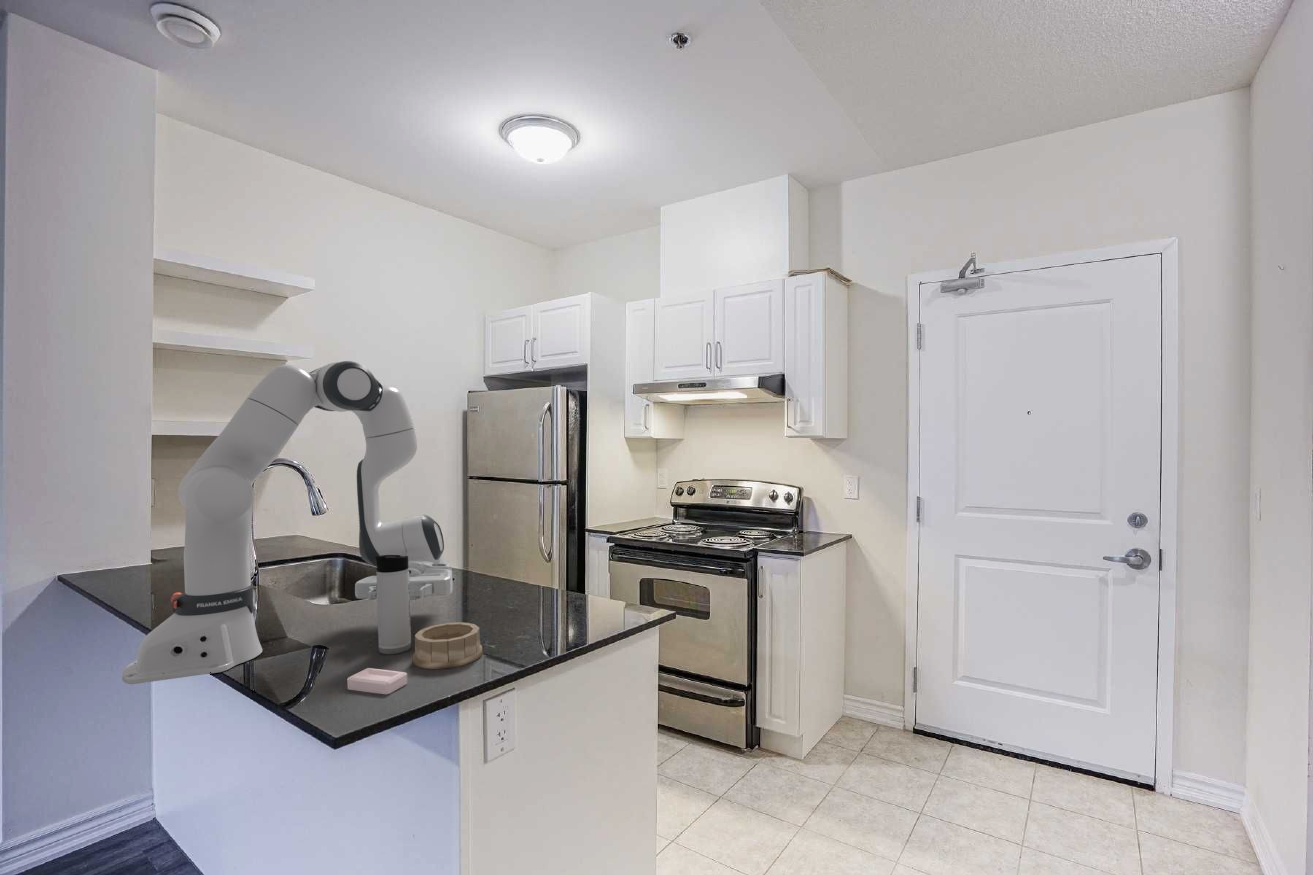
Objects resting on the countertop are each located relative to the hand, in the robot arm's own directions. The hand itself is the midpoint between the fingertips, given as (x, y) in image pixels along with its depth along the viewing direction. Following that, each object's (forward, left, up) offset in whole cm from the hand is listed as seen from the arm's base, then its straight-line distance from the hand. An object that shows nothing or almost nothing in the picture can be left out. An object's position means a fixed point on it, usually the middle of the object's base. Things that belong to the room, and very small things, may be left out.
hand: (395, 594), depth 135 cm
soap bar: (-7, -20, -12) cm, 24 cm away
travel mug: (-1, -2, -11) cm, 11 cm away
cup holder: (+7, -13, -11) cm, 18 cm away
